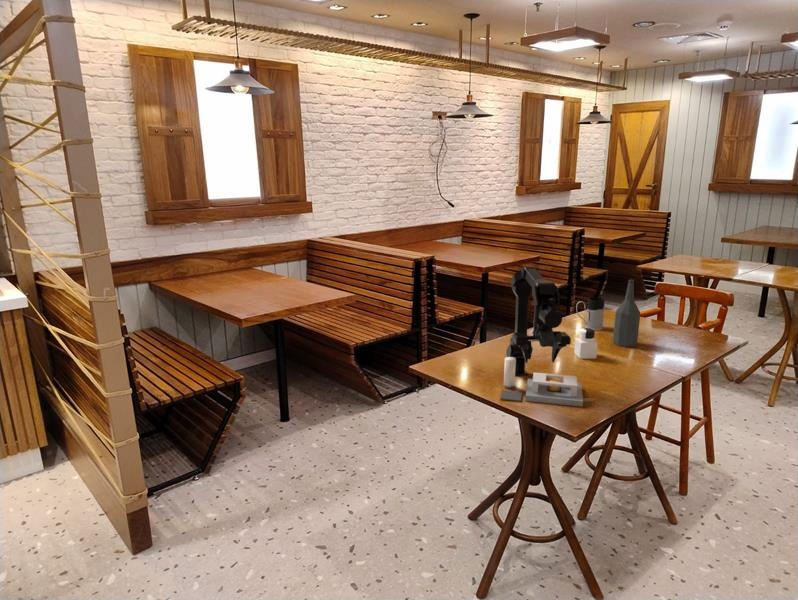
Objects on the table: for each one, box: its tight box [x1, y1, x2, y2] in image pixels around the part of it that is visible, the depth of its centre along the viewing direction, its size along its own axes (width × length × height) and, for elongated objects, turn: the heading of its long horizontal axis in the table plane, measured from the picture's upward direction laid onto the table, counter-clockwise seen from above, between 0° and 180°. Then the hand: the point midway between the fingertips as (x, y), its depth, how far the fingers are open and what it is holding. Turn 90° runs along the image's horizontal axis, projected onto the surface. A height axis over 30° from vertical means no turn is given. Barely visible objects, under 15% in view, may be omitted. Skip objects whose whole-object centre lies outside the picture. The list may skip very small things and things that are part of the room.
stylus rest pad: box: [500, 390, 523, 403], centre depth 194 cm, size 7×7×1 cm
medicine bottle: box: [573, 327, 599, 360], centre depth 233 cm, size 7×7×12 cm
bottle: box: [612, 279, 641, 348], centre depth 246 cm, size 10×10×30 cm
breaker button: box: [548, 379, 561, 392], centre depth 195 cm, size 4×4×2 cm
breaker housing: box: [525, 372, 584, 408], centre depth 195 cm, size 16×19×6 cm
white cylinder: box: [503, 356, 516, 390], centre depth 201 cm, size 4×4×11 cm
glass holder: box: [575, 296, 606, 331], centre depth 273 cm, size 9×14×15 cm, turn 91°
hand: (539, 362), depth 188 cm, fingers open, 9 cm apart
